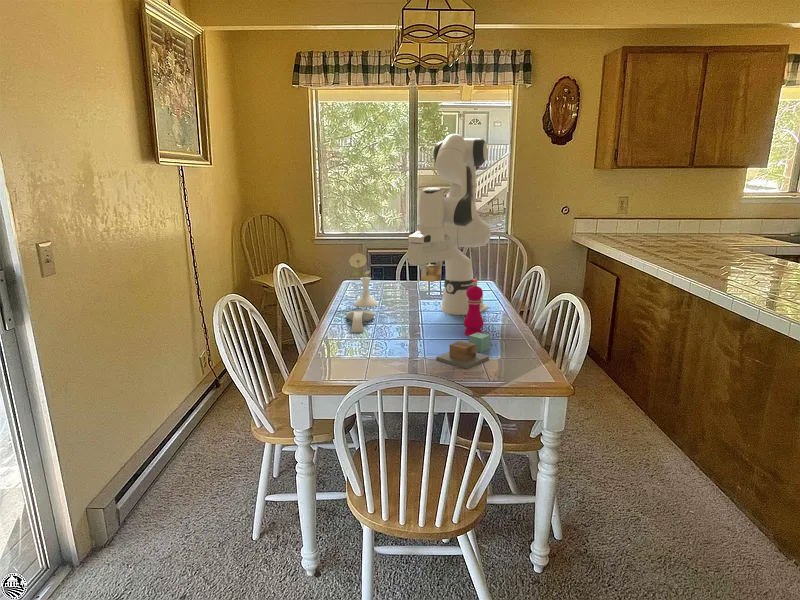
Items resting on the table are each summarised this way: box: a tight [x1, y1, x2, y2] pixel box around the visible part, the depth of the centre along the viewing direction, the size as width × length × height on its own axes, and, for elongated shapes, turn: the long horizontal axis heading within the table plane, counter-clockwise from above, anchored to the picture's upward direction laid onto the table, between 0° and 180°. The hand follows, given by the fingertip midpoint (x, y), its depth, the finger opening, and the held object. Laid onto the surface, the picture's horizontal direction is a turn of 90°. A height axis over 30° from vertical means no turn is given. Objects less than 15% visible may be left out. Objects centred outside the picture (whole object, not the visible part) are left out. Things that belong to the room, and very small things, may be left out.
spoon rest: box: [345, 310, 376, 333], centre depth 199 cm, size 24×12×7 cm, turn 1°
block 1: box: [420, 264, 442, 283], centre depth 177 cm, size 5×5×5 cm
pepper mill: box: [463, 282, 484, 338], centre depth 185 cm, size 7×7×20 cm
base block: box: [449, 340, 477, 361], centre depth 161 cm, size 6×6×4 cm
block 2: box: [468, 332, 491, 354], centre depth 171 cm, size 5×5×5 cm
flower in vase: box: [348, 252, 379, 308], centre depth 224 cm, size 13×11×25 cm
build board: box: [435, 351, 490, 370], centre depth 162 cm, size 12×12×1 cm
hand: (430, 275), depth 177 cm, fingers closed on block 1, 5 cm apart
